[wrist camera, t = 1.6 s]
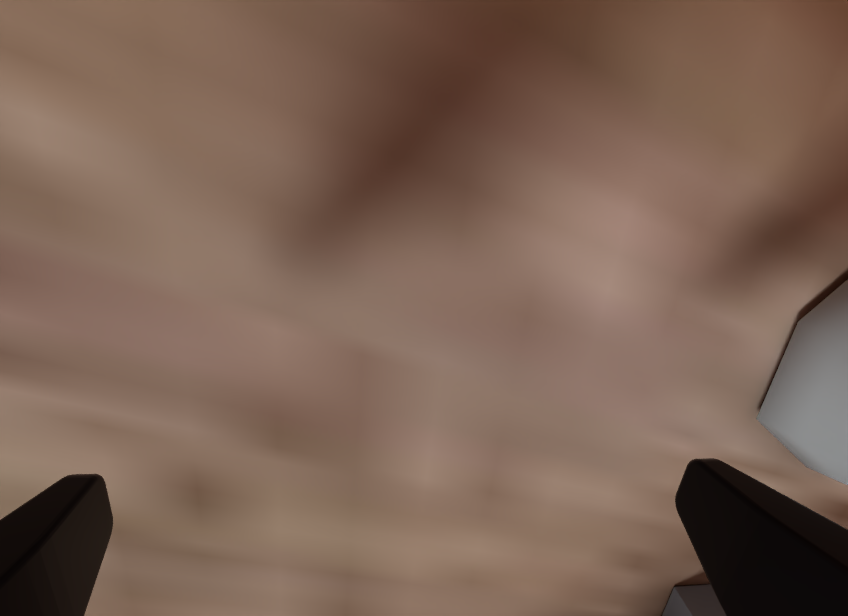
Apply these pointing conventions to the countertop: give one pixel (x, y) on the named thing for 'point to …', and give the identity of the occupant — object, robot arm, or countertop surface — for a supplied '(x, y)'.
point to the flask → (814, 390)
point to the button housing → (693, 602)
